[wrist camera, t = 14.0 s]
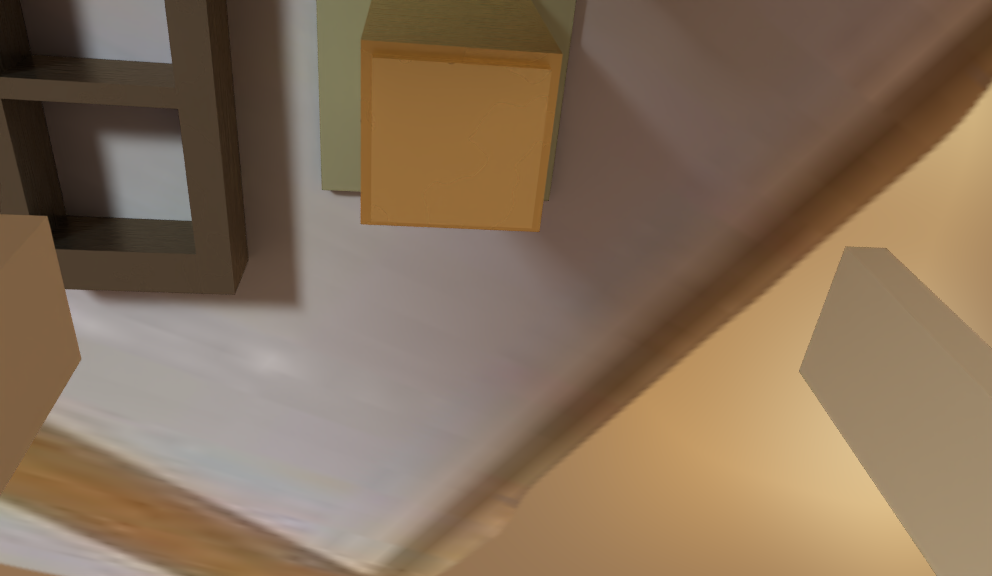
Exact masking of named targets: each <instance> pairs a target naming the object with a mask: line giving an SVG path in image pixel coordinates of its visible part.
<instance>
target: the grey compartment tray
mask: <svg viewBox="0 0 992 576" xmlns="http://www.w3.org/2000/svg"><path fill="white" fill-rule="evenodd" d="M165 8H166V16H167V24H168V32H169V40H170V48H171V56H172V64H168V63H152V62H137V61H122V60H106V59H91V58H76V57H60V56H45V55H31V51H30V46H29V41H28V37H27V32H26V28H25V23H24V18H23V14H22V9H21V4H20V0H0V214H8V215H34V216H47V217H48V221H49V225H50V229H51V233H52V238H53V242H54V246H55V250H56V254H57V259H58V263H59V267H60V271H61V275H62V280H63V284H64V288H65V289H78V290H109V291H140V292H171V293H202V294H232V295H235V293H236V291H237V288H238V285H239V283H240V280H241V278H242V275H243V273H244V270H245V267H246V265H247V262H248V251H247V239H246V228H245V216H244V204H243V193H242V181H241V169H240V158H239V146H238V135H237V123H236V111H235V100H234V88H233V76H232V65H231V53H230V41H229V30H228V18H227V6H226V0H165ZM42 101H51V102H68V103H85V104H102V105H119V106H136V107H153V108H170V109H178V113H179V121H180V129H181V137H182V145H183V153H184V161H185V169H186V177H187V185H188V193H189V201H190V209H191V217H192V221H176V220H153V219H130V218H106V217H83V216H66V212H65V207H64V203H63V198H62V194H61V189H60V184H59V180H58V175H57V171H56V166H55V161H54V157H53V152H52V147H51V143H50V138H49V134H48V129H47V124H46V120H45V115H44V111H43V106H42Z"/></svg>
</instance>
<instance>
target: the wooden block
mask: <svg viewBox="0 0 992 576" xmlns="http://www.w3.org/2000/svg"><path fill="white" fill-rule="evenodd" d="M562 57H563V54H562V52H561V50H560V48H559V47H558V45H557V43H556V42H555V40H554V38H553V36H552V35H551V33H550V31H549V30H548V28H547V26H546V24H545V23H544V21H543V19H542V18H541V16H540V14H539V13H538V11H537V9H536V7H535V6H534V4H533V2H532V1H531V0H371V4H370V7H369V11H368V15H367V18H366V22H365V26H364V29H363V33H362V37H361V224H368V225H391V226H414V227H437V228H461V229H484V230H507V231H530V232H539V230H540V223H541V215H542V208H543V200H544V193H545V185H546V177H547V170H548V162H549V155H550V147H551V140H552V132H553V125H554V117H555V109H556V102H557V94H558V87H559V79H560V72H561V64H562Z"/></svg>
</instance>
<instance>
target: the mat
mask: <svg viewBox="0 0 992 576" xmlns="http://www.w3.org/2000/svg"><path fill="white" fill-rule="evenodd" d="M531 1H532V2H533V4H534V6H535V7H536V9H537V11H538V13H539V14H540V16H541V18H542V19H543V21H544V23H545V24H546V26H547V28H548V30H549V31H550V33H551V35H552V36H553V38H554V40H555V42H556V43H557V45H558V47H559V48H560V50H561V52H562V54H563V57H562V64H561V72H560V79H559V87H558V94H557V102H556V109H555V117H554V125H553V132H552V140H551V147H550V155H549V162H548V170H547V177H546V185H545V193H544V201H549V196H550V189H551V181H552V174H553V167H554V159H555V152H556V145H557V137H558V130H559V123H560V115H561V108H562V101H563V93H564V86H565V79H566V71H567V64H568V57H569V49H570V42H571V35H572V27H573V20H574V13H575V5H576V0H531ZM316 3H317V38H318V73H319V108H320V143H321V178H322V190H336V191H357V192H361V37H362V33H363V29H364V26H365V22H366V18H367V15H368V11H369V7H370V4H371V0H316Z"/></svg>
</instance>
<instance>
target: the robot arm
mask: <svg viewBox="0 0 992 576" xmlns="http://www.w3.org/2000/svg"><path fill="white" fill-rule="evenodd" d="M80 361H81V355H80V351H79V347H78V343H77V338H76V334H75V330H74V326H73V322H72V317H71V313H70V309H69V305H68V301H67V296H66V292H65V288H64V284H63V280H62V275H61V271H60V267H59V263H58V259H57V254H56V250H55V246H54V242H53V238H52V233H51V229H50V225H49V221H48V217H47V216H34V215H8V214H0V495H1V494H2V492H3V490H4V489H5V487H6V485H7V483H8V482H9V480H10V478H11V477H12V475H13V473H14V472H15V470H16V468H17V467H18V465H19V463H20V462H21V460H22V458H23V457H24V455H25V453H26V451H27V450H28V448H29V446H30V445H31V443H32V441H33V440H34V438H35V436H36V435H37V433H38V431H39V430H40V428H41V426H42V425H43V423H44V421H45V420H46V418H47V416H48V414H49V413H50V411H51V409H52V408H53V406H54V404H55V403H56V401H57V399H58V398H59V396H60V394H61V393H62V391H63V389H64V388H65V386H66V384H67V382H68V381H69V379H70V377H71V376H72V374H73V372H74V371H75V369H76V367H77V366H78V364H79V362H80ZM799 372H800V374H801V375H802V377H803V378H804V379H805V381H806V382H807V384H808V385H809V387H810V388H811V390H812V391H813V393H814V394H815V396H816V397H817V399H818V400H819V402H820V403H821V405H822V406H823V408H824V409H825V411H826V412H827V414H828V415H829V417H830V418H831V420H832V421H833V423H834V424H835V425H836V427H837V429H838V430H839V431H840V433H841V434H842V436H843V437H844V439H845V440H846V442H847V443H848V445H849V446H850V448H851V449H852V451H853V452H854V454H855V455H856V457H857V458H858V460H859V461H860V463H861V464H862V466H863V467H864V469H865V470H866V471H867V473H868V474H869V476H870V478H871V479H872V480H873V482H874V483H875V485H876V486H877V488H878V489H879V491H880V492H881V494H882V495H883V497H884V498H885V499H886V501H887V503H888V504H889V506H890V507H891V509H892V510H893V511H894V513H895V515H896V516H897V518H898V519H899V521H900V522H901V524H902V525H903V526H904V528H905V530H906V531H907V532H908V534H909V535H910V537H911V538H912V540H913V541H914V543H915V544H916V546H917V547H918V549H919V550H920V552H921V553H922V555H923V556H924V557H925V559H926V561H927V562H928V563H929V565H930V567H931V568H932V570H933V571H934V573H935V574H936V576H992V348H991V347H990V346H989V345H988V344H986V343H985V342H984V341H983V340H982V339H981V338H980V337H979V336H978V335H977V334H976V333H975V332H974V331H973V330H972V329H971V328H970V327H969V326H968V325H966V324H965V323H964V322H963V321H962V320H961V319H960V318H959V317H958V316H957V315H956V314H955V313H954V312H953V311H952V310H951V309H950V308H949V307H948V306H947V305H945V304H944V303H943V302H942V301H941V300H940V299H939V298H938V297H937V296H936V295H935V294H934V293H933V292H932V291H931V290H930V289H929V288H928V287H926V286H925V285H924V284H923V283H922V282H921V281H920V280H919V279H918V278H917V277H916V276H915V275H914V274H913V273H912V272H911V271H910V270H909V269H908V268H907V267H905V266H904V265H903V264H902V263H901V262H900V261H899V260H898V259H897V258H896V257H895V256H894V255H893V254H892V253H891V252H890V251H889V250H888V249H887V248H869V247H867V248H866V247H845V249H844V252H843V255H842V257H841V260H840V263H839V265H838V268H837V271H836V273H835V276H834V279H833V281H832V284H831V287H830V290H829V292H828V295H827V298H826V300H825V303H824V305H823V308H822V311H821V313H820V316H819V319H818V322H817V324H816V327H815V330H814V332H813V335H812V338H811V340H810V343H809V346H808V348H807V351H806V354H805V356H804V359H803V362H802V364H801V367H800V370H799Z"/></svg>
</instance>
